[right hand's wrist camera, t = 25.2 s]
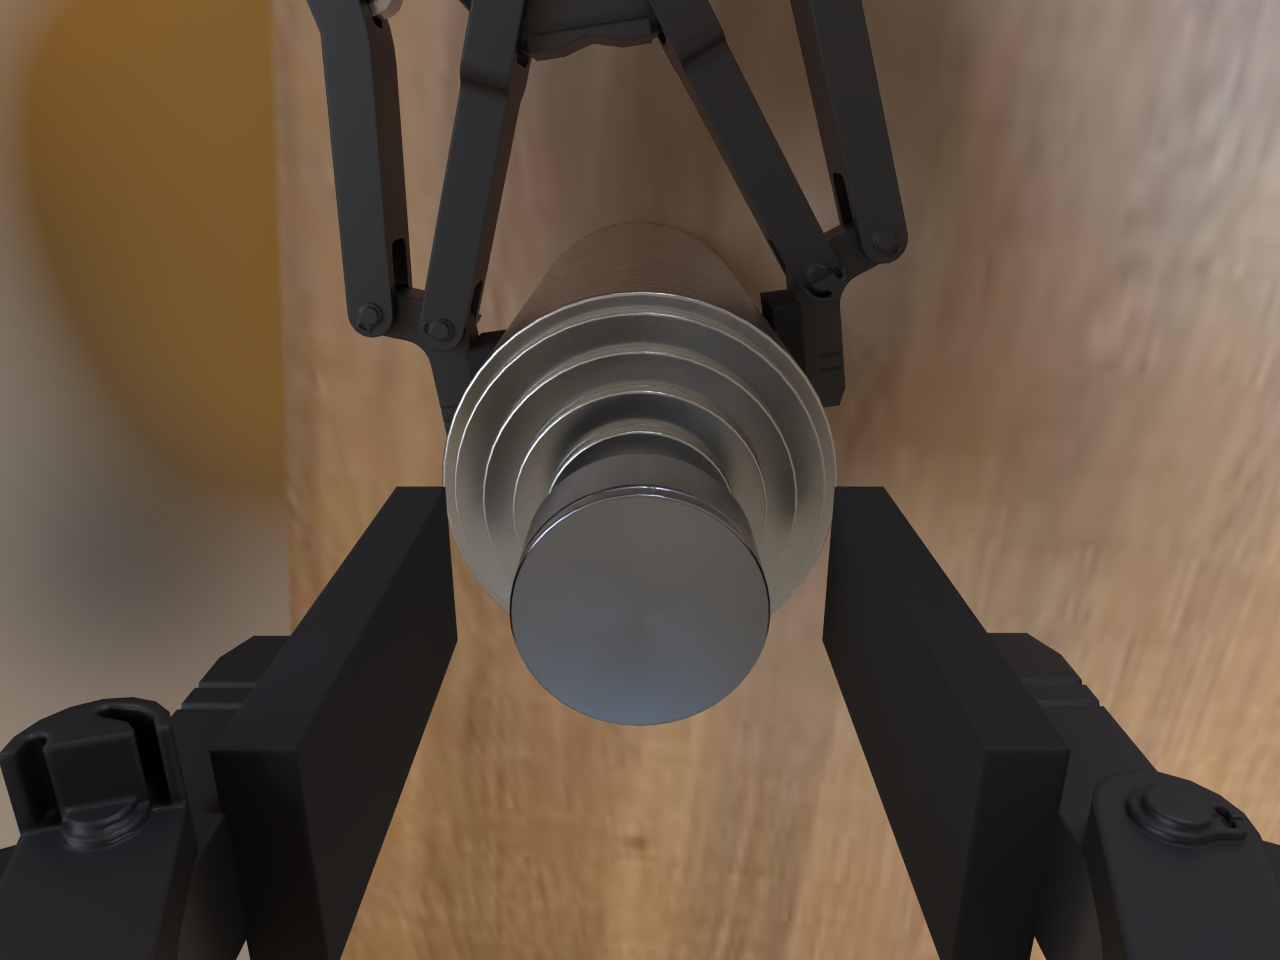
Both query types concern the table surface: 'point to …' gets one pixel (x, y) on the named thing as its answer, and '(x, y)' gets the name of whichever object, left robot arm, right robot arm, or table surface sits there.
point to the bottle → (640, 402)
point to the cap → (639, 591)
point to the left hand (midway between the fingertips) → (662, 527)
